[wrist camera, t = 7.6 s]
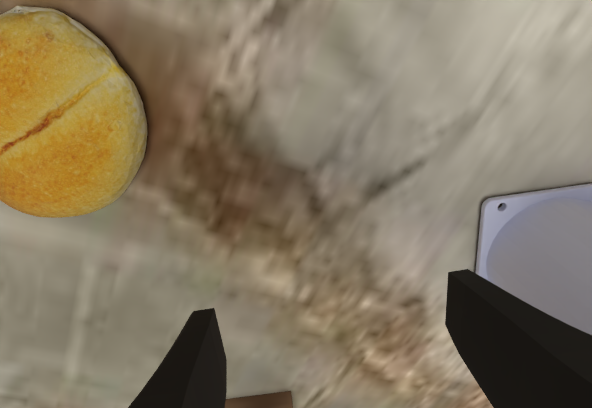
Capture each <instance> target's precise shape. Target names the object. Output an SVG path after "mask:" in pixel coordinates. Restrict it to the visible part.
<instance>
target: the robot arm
mask: <svg viewBox="0 0 592 408" xmlns="http://www.w3.org/2000/svg"><path fill="white" fill-rule="evenodd" d="M501 203H503V204H502V206H501V207H500V208H498V205H499V204H501ZM445 325H446V327H447V329H448V331H449V333H450V336H451V338H452V340H453V342H454V344H455V346H456V348H457V350H458V352H459V354H460V356H461V357H462V359H463V361H464V362H465V364H466V365H467V367H468V369H469V370H470V372H471V373H472V375H473V376H474V378H475V380H476V381H477V383H478V384H479V386H480V387H481V389H482V390H483V392H484V393H485V395H486V396H487V398H488V400H489V401H490V403H491V404H492V406H493V407H494V408H592V183H591V184H584V185H577V186H570V187H563V188H556V189H549V190H542V191H535V192H528V193H521V194H514V195H507V196H499V197H492V198H488V199H487V200H485V201H484V202H483V204H482V208H481V219H480V230H479V241H478V252H477V262H476V273H474V272H472V271H470V270H468V269H467V270H460V271H454V272H448V289H447V305H446V322H445ZM225 400H226V356H225V352H224V347H223V343H222V339H221V335H220V331H219V326H218V322H217V318H216V314H215V310H214V308H212V309H205V310H198V311H194V312H193V313H192V314H191V315H190V317H189V319H188V321H187V322H186V324H185V326H184V328H183V329H182V331H181V333H180V334H179V336H178V338H177V339H176V341H175V342H174V344H173V346H172V347H171V349H170V350H169V352H168V353H167V355H166V357H165V358H164V360H163V361H162V363H161V364H160V366H159V367H158V369H157V370H156V371H155V373H154V374H153V376H152V377H151V378H150V380H149V381H148V382H147V384H146V385H145V387H144V388H143V389H142V391H141V392H140V393H139V395H138V396H137V397H136V398H135V400H134V401H133V402H132V403H131V405H130V406H129V407H128V408H225Z"/></svg>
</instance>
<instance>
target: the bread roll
mask: <svg viewBox="0 0 592 408" xmlns="http://www.w3.org/2000/svg"><path fill="white" fill-rule="evenodd" d="M146 141H147V121H146V116H145V112H144V108H143V102H142V100H141V98H140V95H139V93H138V91H137V88H136V86H135V84H134V82H133V81H132V80H131V79H130V77H129V76H128V74H126V73H125V71H124V70H123V69H122V68H121V67H120V66H119V64H118V63H117V61H116V59H115V58H114V56H113V54H112V53H111V51H110V50H109V49H108V48H107V46H106V45H105V44H104V43H103V42H102V41H101V40H100V39H99V38H97V37H96V36H95V35H94V34H93V33H92V32H90V31H89V30H88V29H87V28H85V27H84V26H83V25H82V24H80V23H79V22H77V21H75V20H73V19H71V18H70V17H68V16H67V15H65V14H64V13H62V12H60V11H57V10H55V9H52V8H40V7H25V6H16V7H14V8H12V9H11V10H10V11H8V12H5V13H4V14H0V200H1V201H2V202H4V203H5V204H7V205H8V206H10V207H12V208H14V209H16V210H18V211H21V212H23V213H26V214H30V215H34V216H38V217H70V216H79V215H84V214H88V213H91V212H94V211H97V210H99V209H102V208H103V207H105V206H107V205H109V204H111V203H112V202H114V201H115V200H117V199H118V198H119V197H120V196H121V195H122V194H123V193H124V192H125V191H126V189H127V188H128V186H129V185H130V183H131V182H132V180H133V178H134V176H135V175H136V173H137V172H138V170H139V168H140V165H141V162H142V160H143V158H144V154H145V150H146V144H147V143H146Z"/></svg>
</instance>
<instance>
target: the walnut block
mask: <svg viewBox="0 0 592 408" xmlns="http://www.w3.org/2000/svg"><path fill="white" fill-rule="evenodd" d="M225 408H293V405H292V396H291V391H287V392H279V393H271V394H263V395H255V396H248V397H240V398H232V399H226V400H225Z"/></svg>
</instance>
